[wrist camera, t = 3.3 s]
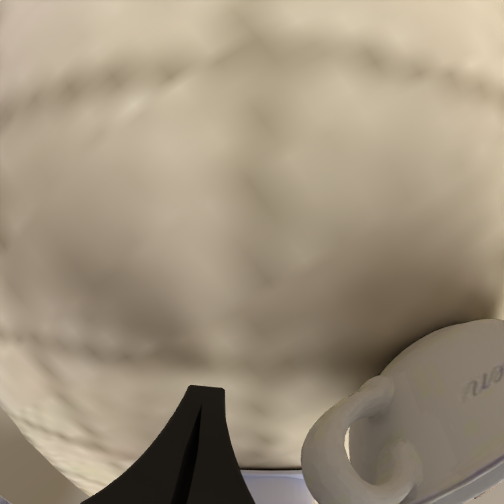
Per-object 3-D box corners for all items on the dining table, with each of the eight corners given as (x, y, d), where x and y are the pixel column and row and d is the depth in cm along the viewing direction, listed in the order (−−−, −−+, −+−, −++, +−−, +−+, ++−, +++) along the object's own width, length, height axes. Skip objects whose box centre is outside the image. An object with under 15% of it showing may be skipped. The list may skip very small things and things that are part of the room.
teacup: (516, 340, 12) (575, 423, 5) (398, 441, 16) (423, 531, 9) (416, 192, 9) (599, 322, 2) (236, 378, 13) (222, 545, 5)
